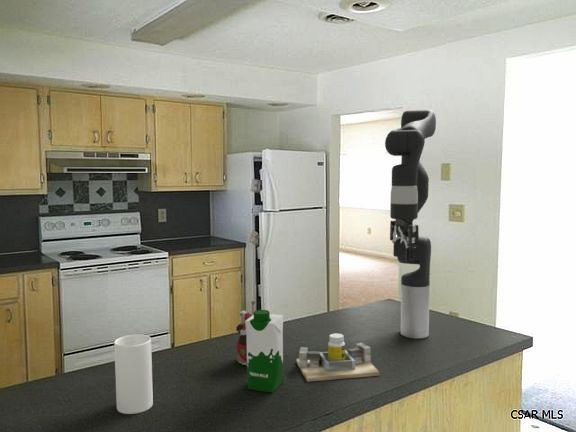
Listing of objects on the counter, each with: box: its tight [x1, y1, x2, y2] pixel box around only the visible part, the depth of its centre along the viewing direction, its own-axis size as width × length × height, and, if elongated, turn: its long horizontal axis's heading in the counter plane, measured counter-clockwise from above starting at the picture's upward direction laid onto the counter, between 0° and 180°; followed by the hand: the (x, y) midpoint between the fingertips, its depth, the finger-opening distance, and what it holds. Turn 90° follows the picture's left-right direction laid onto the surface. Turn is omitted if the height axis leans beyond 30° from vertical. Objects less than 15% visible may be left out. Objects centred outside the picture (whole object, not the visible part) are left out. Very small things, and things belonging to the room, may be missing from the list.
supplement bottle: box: [327, 333, 346, 362], centre depth 140 cm, size 5×5×8 cm
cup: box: [113, 334, 154, 415], centre depth 118 cm, size 8×8×16 cm
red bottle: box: [235, 300, 256, 366], centre depth 146 cm, size 11×9×18 cm
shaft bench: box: [295, 342, 380, 382], centre depth 140 cm, size 14×21×5 cm
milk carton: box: [244, 309, 284, 394], centre depth 129 cm, size 9×9×20 cm
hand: (403, 258), depth 143 cm, fingers open, 8 cm apart
